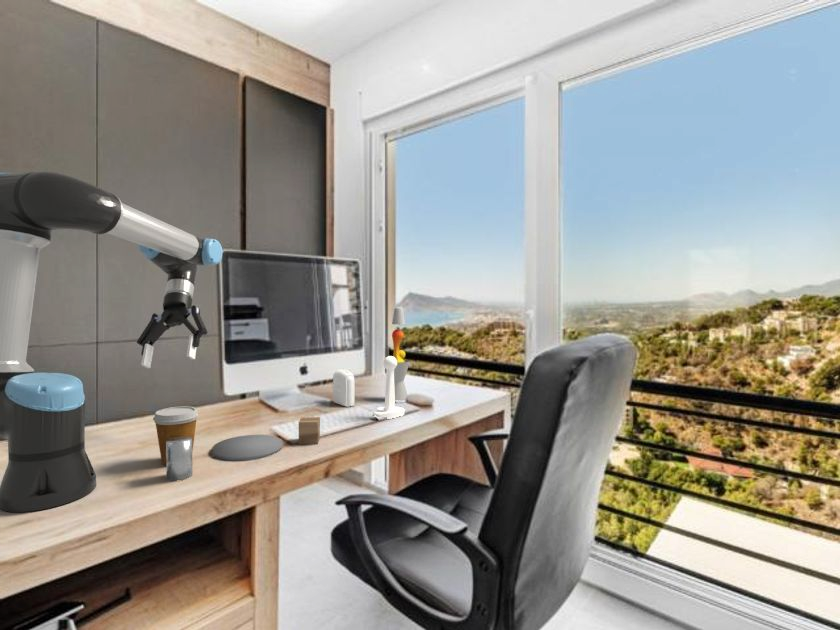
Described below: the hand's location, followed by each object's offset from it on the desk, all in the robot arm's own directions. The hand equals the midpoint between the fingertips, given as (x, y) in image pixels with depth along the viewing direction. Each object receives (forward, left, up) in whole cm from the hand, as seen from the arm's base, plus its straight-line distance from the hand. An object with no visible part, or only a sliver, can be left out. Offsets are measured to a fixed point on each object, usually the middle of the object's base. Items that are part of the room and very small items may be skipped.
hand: (168, 362), depth 128 cm
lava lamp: (+58, -49, -21) cm, 79 cm away
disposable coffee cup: (-16, -17, -21) cm, 31 cm away
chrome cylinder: (-24, -25, -20) cm, 40 cm away
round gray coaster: (-4, -28, -20) cm, 35 cm away
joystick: (+36, -52, -21) cm, 67 cm away
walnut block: (+6, -40, -20) cm, 45 cm away
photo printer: (+47, -32, -21) cm, 60 cm away
